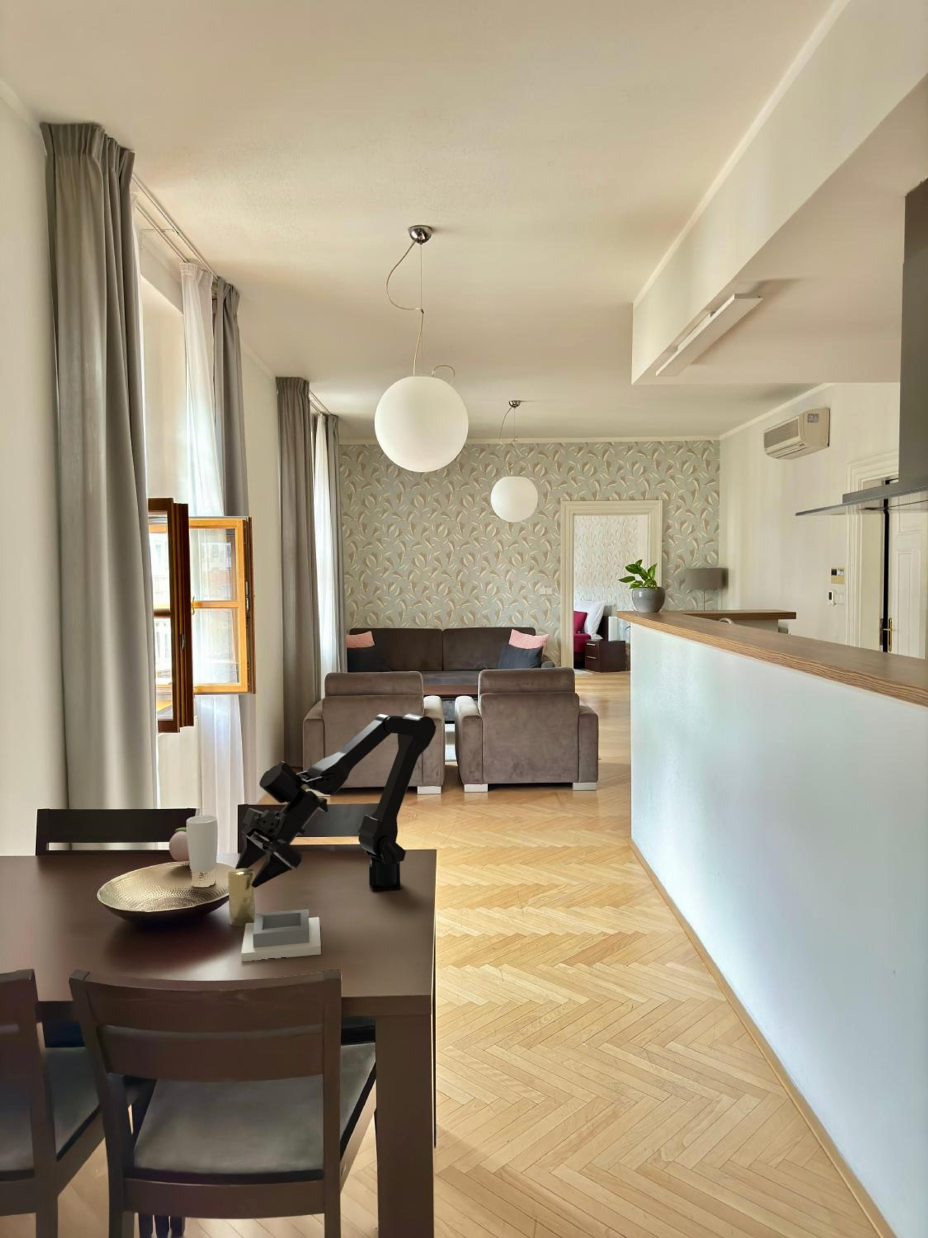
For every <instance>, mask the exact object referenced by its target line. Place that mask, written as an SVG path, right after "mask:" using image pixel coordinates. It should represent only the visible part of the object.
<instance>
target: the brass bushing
mask: <svg viewBox="0 0 928 1238" xmlns="http://www.w3.org/2000/svg"><path fill="white" fill-rule="evenodd" d="M227 875H228V877H227V878H228V909H229V911H228V912H229V913H228V914H229V915H228V916H229V917H228V918H229V925H230V926H232V927H236V928H237V927H239V928H240V927H241V928H242V927H245V926H246V923H255V915H256V893H255V890H256V888H254V887H253V886H252V885H251V884H252V882H253V880H254V878H255V870H254V869H252V868H250V867H249V868H240V869H235V868H234V869H232V870H230V871H229V872H228V873H227Z"/></svg>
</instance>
